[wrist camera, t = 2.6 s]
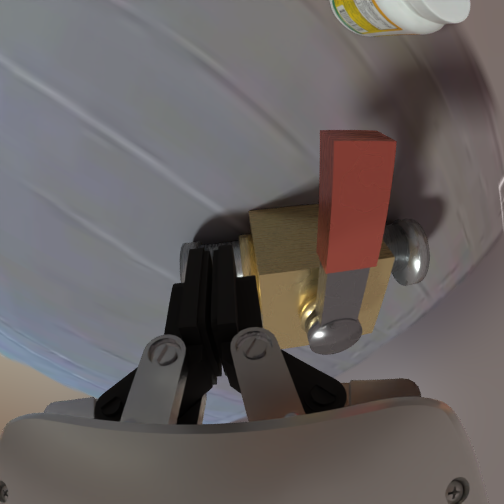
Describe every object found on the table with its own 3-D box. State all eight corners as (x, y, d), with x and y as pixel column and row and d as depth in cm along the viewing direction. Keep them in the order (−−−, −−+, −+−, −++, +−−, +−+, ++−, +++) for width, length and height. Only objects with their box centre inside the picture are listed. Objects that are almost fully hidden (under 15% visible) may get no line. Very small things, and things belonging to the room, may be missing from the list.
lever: (350, 332, 20) (357, 351, 19) (303, 340, 20) (308, 360, 19) (384, 131, 12) (404, 141, 10) (311, 130, 11) (323, 141, 10)
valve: (200, 289, 28) (196, 366, 21) (182, 219, 24) (166, 294, 17) (389, 264, 29) (427, 326, 22) (404, 197, 24) (459, 254, 17)
